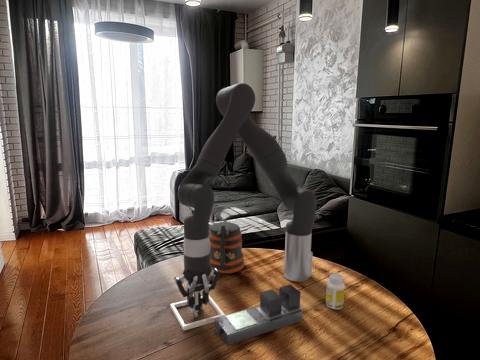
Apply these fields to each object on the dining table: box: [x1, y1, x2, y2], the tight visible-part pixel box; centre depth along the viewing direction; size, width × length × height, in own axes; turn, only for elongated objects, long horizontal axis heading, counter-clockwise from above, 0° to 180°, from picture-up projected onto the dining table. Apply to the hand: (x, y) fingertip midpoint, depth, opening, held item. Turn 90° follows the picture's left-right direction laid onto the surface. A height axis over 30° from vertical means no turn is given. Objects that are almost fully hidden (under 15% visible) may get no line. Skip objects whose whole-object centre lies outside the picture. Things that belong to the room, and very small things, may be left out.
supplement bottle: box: [325, 273, 346, 310], centre depth 105 cm, size 5×5×10 cm
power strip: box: [213, 284, 304, 346], centre depth 95 cm, size 27×8×8 cm, turn 117°
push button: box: [191, 284, 204, 318], centre depth 100 cm, size 7×5×10 cm
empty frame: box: [169, 294, 226, 332], centre depth 101 cm, size 13×13×1 cm
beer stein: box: [209, 219, 245, 275], centre depth 128 cm, size 19×15×20 cm
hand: (198, 304), depth 101 cm, fingers closed on push button, 3 cm apart
